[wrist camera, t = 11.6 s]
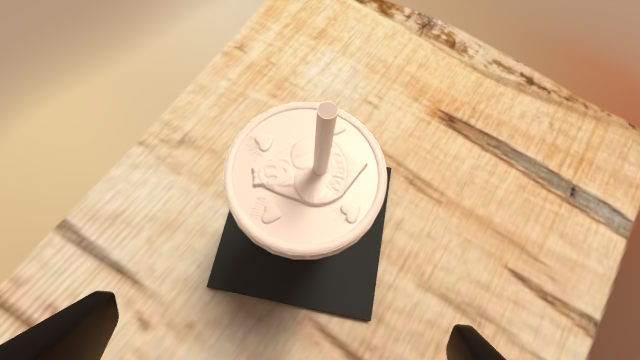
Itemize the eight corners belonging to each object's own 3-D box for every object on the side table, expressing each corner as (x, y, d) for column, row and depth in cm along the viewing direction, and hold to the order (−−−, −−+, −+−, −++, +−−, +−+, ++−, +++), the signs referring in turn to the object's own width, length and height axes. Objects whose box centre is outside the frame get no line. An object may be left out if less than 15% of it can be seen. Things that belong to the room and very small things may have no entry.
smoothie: (362, 270, 22) (454, 214, 8) (258, 284, 21) (182, 249, 8) (346, 174, 24) (398, 9, 10) (251, 184, 23) (181, 25, 10)
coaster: (369, 320, 21) (370, 321, 21) (208, 287, 21) (206, 286, 21) (390, 169, 24) (391, 167, 24) (250, 142, 25) (250, 139, 24)
